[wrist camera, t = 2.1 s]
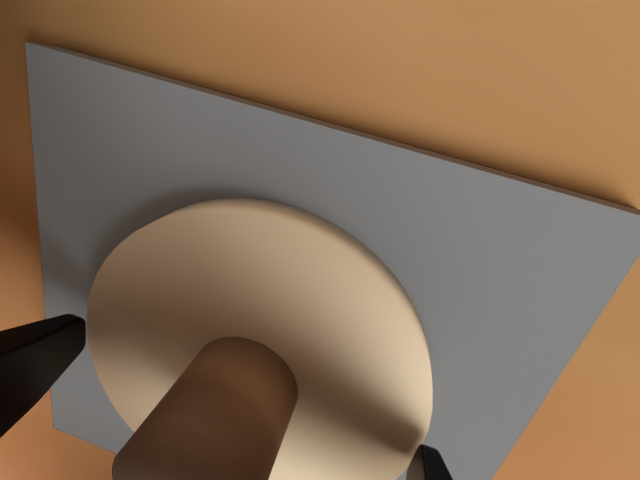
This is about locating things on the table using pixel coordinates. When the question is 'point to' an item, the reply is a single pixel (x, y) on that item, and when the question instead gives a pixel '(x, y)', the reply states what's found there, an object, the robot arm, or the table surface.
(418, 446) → the robot arm
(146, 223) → the mat
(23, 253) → the table surface
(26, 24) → the table surface
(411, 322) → the lid
